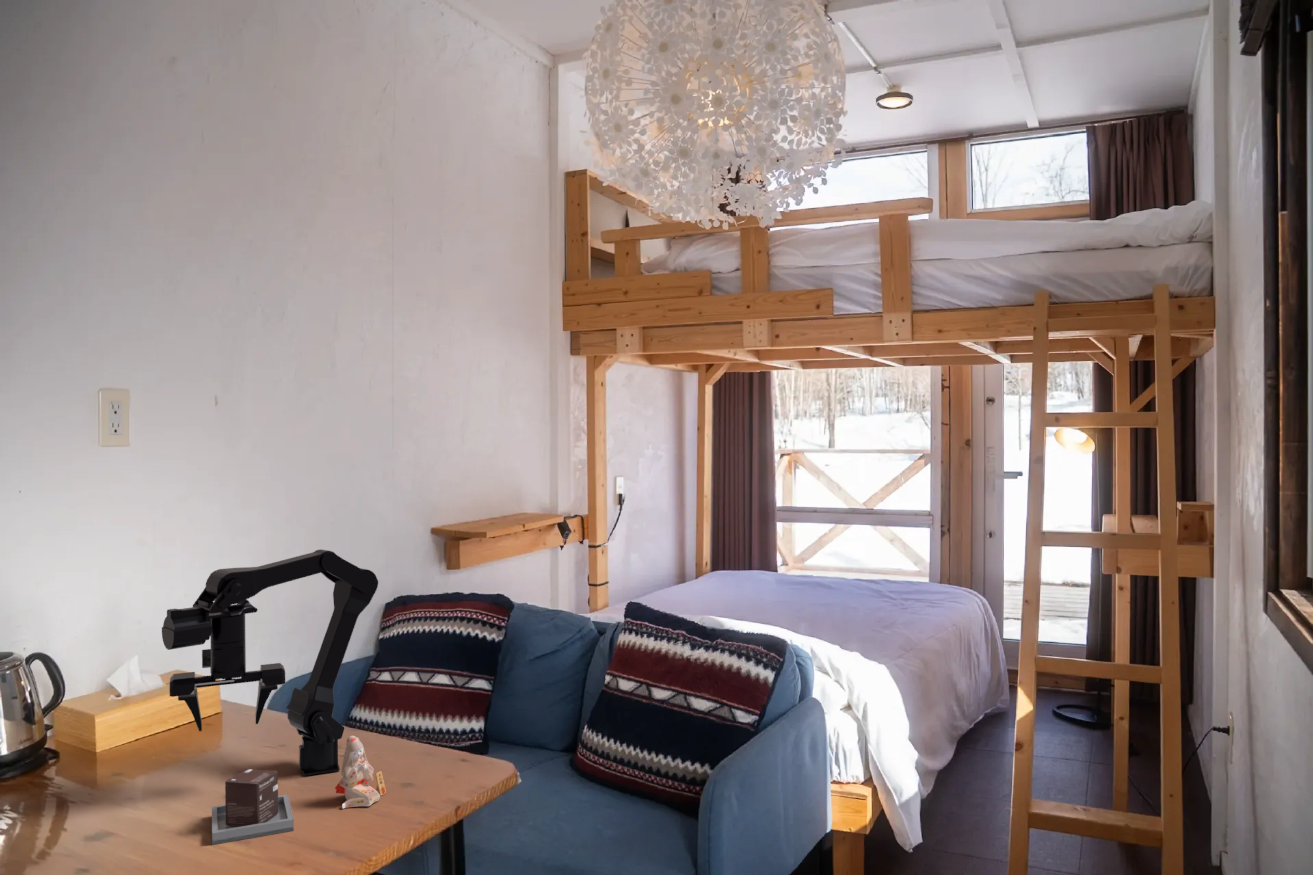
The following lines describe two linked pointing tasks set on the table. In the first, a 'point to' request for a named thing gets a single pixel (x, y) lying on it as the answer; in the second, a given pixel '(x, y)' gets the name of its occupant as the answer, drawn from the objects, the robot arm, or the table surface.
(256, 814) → the box
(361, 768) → the figurine
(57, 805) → the table surface
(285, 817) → the tray
